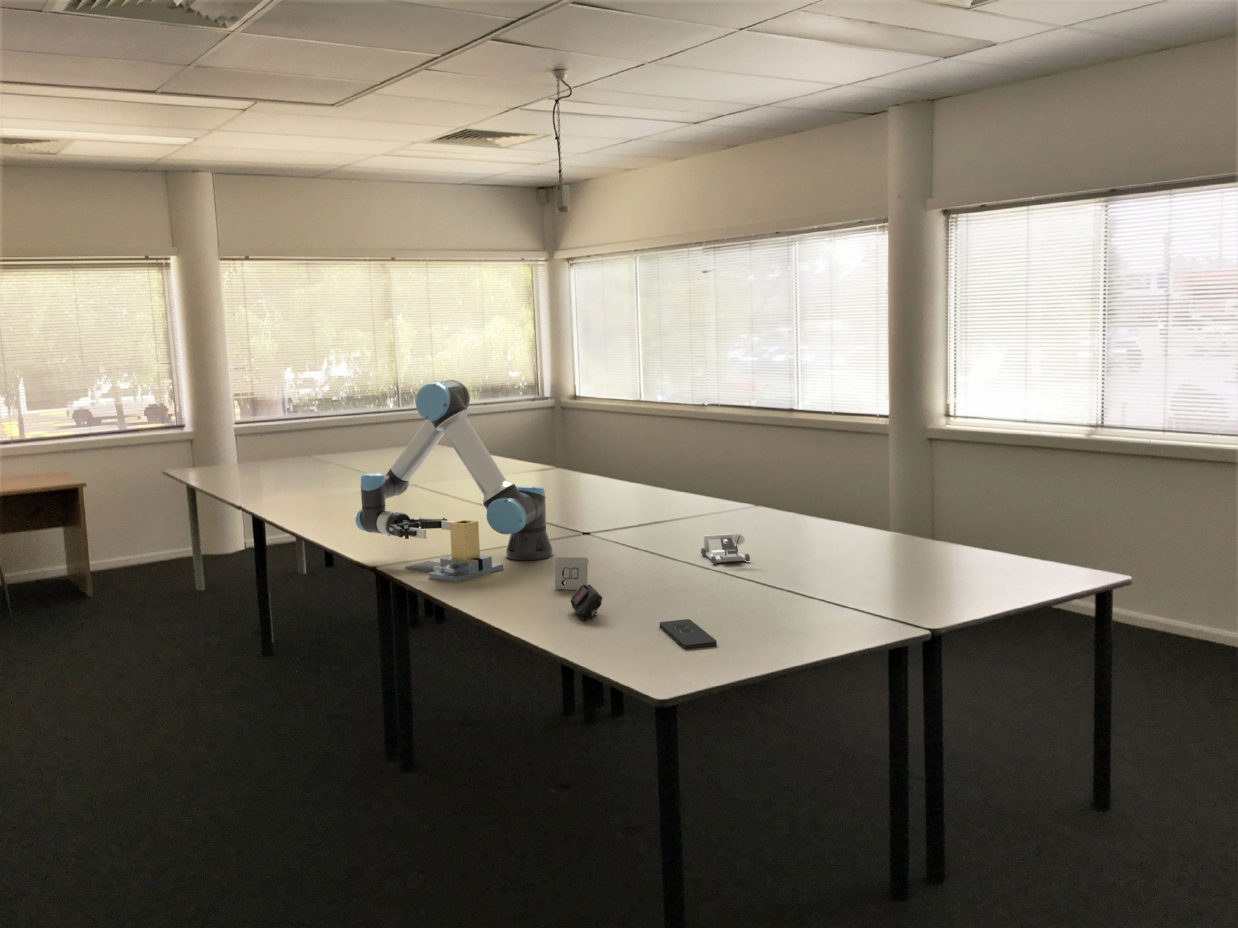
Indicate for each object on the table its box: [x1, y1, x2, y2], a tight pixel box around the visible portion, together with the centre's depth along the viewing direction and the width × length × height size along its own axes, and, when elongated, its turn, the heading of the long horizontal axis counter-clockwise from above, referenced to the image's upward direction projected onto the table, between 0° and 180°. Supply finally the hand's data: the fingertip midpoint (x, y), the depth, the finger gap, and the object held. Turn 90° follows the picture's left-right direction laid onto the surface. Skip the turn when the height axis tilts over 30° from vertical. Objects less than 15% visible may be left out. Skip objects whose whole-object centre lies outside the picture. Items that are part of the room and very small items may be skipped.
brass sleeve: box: [449, 519, 481, 560], centre depth 317 cm, size 6×6×11 cm
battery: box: [569, 584, 603, 621], centre depth 267 cm, size 12×8×7 cm
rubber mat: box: [404, 560, 441, 573], centre depth 328 cm, size 10×10×1 cm
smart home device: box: [659, 618, 718, 651], centre depth 247 cm, size 8×2×20 cm
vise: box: [428, 554, 504, 584], centre depth 317 cm, size 20×12×14 cm, turn 144°
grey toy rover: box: [700, 533, 751, 566], centre depth 325 cm, size 18×10×12 cm
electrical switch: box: [554, 556, 589, 591], centre depth 296 cm, size 9×5×9 cm, turn 78°
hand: (441, 530), depth 322 cm, fingers open, 13 cm apart
